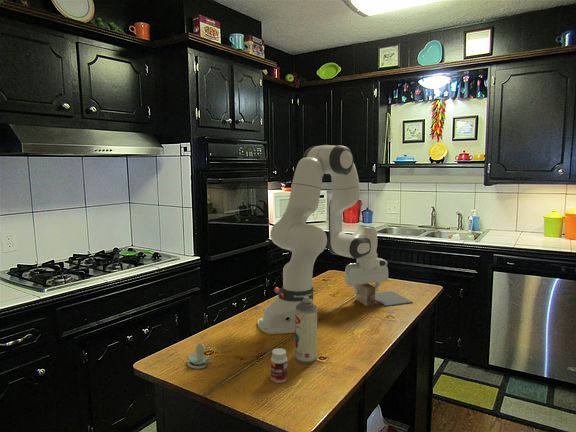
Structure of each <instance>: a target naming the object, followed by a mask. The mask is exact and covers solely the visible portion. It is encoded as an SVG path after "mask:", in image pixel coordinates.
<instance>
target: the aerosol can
mask: <svg viewBox="0 0 576 432" xmlns="http://www.w3.org/2000/svg"><path fill="white" fill-rule="evenodd" d="M294 340H295V341H294V359H295V361H296V362H298V363H301V364H305V365H307V364H313V363H314V362H315V363H316V361H317V359H318V354H317V353H318V351H317V350H318V349H317V348H318V306H317V305H316V304H315V303H313V301H312V302H311V301H310V300H309V297H307V296H305V297H304V298H303V300H302V301H301V302H300V303H299V304H298V305H296V309H295V333H294Z"/></svg>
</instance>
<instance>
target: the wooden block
mask: <svg viewBox="0 0 576 432" xmlns="http://www.w3.org/2000/svg"><path fill="white" fill-rule="evenodd" d="M356 288H357V289H358V290H359V294H355V300H356V301H357V302H359V303H361V304H362V305H364V306H365V307H370V306H371V307H372V306H375V305H376V301H375V293H376V291H375V285H372V284H371V283H365V284H357V287H356Z"/></svg>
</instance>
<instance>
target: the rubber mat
mask: <svg viewBox="0 0 576 432" xmlns="http://www.w3.org/2000/svg"><path fill="white" fill-rule="evenodd" d="M413 302H414V301H412V300H411V299H408V298H407V297H404V296H402V295H400V294H399V293H396V292H394V291H393V290H390V291H382V292H375V303H379V304H380V305H382V306H384V307H385V308H386V307H393V306H400V305H401V306H402V305H406V304H407V305H408V304H413Z"/></svg>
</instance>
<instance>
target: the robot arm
mask: <svg viewBox="0 0 576 432" xmlns="http://www.w3.org/2000/svg"><path fill="white" fill-rule="evenodd" d="M324 175H330V179H331V187H332V188H331V189H332V191H331V192H332V193H331V195H332V196H331V198H330V201H329V205H328V235H327V233H326V232H325V230H323V228H320V227H318V226H317V225H314V224H309V223H307V221H308V219H309V218H310V216H311V215H312V214H314V213H315V212H316V211H317V210H318V207H319V204H320V203H319V201H320V197H321V191H322V187H323V186H322V184H323V177H324ZM360 188H361V187H360V179H359V175H358V171H357V167H356V164H355V163H354V155H353V152H352V151H351V149H350V148H349V147H348V146H344V145H341V144H338V145H334V144H333V145H330V144H323V145H314V146H311V147H309V148H307V149H306V150H305V152H304V153H303V156H302V158H301V159H299V160H298V162H297V165H296V168H295V171H294V174H293V178H292V184H291V188H290V189H291V190H290V193H289V199H288V203H287V206H286V209H285V211H284V213H283V214H282V217H280V219H279V220H278V221H277V222H276V223H275V224H273V225H272V227H271V230H270V239H271V242H272V243H273V244H274V245H276V246H277V247H278V248H281V249H283V250H286V251H291V257H290V261H288V262H287V263H286V264H285V265H284V266H283V269H282V279H283V280H282V283H283V284H282V287H281V288H279V287H278V286H276V287H275V288H274V292H275V293H276V294H277V295H278V297H276V298H275V299H274V300H273V301H272V302H271V303H269V304H268V305H267V306H265V308H264V311H263V314H262V315H263V316H262V317H261V318H259V319H257V321H256V322H257V327H258V328H259V330H260V331H262V333H265V334H266V335H277V334H278V335H279V334H293V333H294V334H295V309H296V305H298V304H299V303H300V302H301V301H302V300H303V298H304V297H305V296H307V297H309V300H310V301H311V302H312V303H313V301H314V286H313V272H314V271H313V270H314V265H315V262H316V260H317V257H318V256H319V255H320V254H322V253H323V252H324V251H325V249H326V248H327V249H328V251H329V252H330V253H331V254H332V255H336V256H342V257H345V258H346V257H347V258H350V259H351V258H352V259H356V262H353V263H348V264H347V265H346V266H345V271H344V272H345V273H344V283H345V284H346V285H348V286H352V289H354V294H355V295H356V294H359V290H358V289H357V288H356V287H357V284H365V283H368V284H371V283H375V285H374V287H375V292H378V291H379V287H380V285H381V282H385V281H387V280H388V279H389V268H388V261H387V260H385V259H383V258H381V257H378V253H377V248H378V233H377V228H376V227H374V226H370V225H366V224H365V225H362V224H361V225H359V226H358V228H357V230H356V231H355V232H353V233H351V234H349V233H346V232H344V230H343V213H344V211H345V210H347V209H349V208H352V207H353V206H355V205H356V204H357V203H358V202H359V199H360V197H361V189H360Z"/></svg>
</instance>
